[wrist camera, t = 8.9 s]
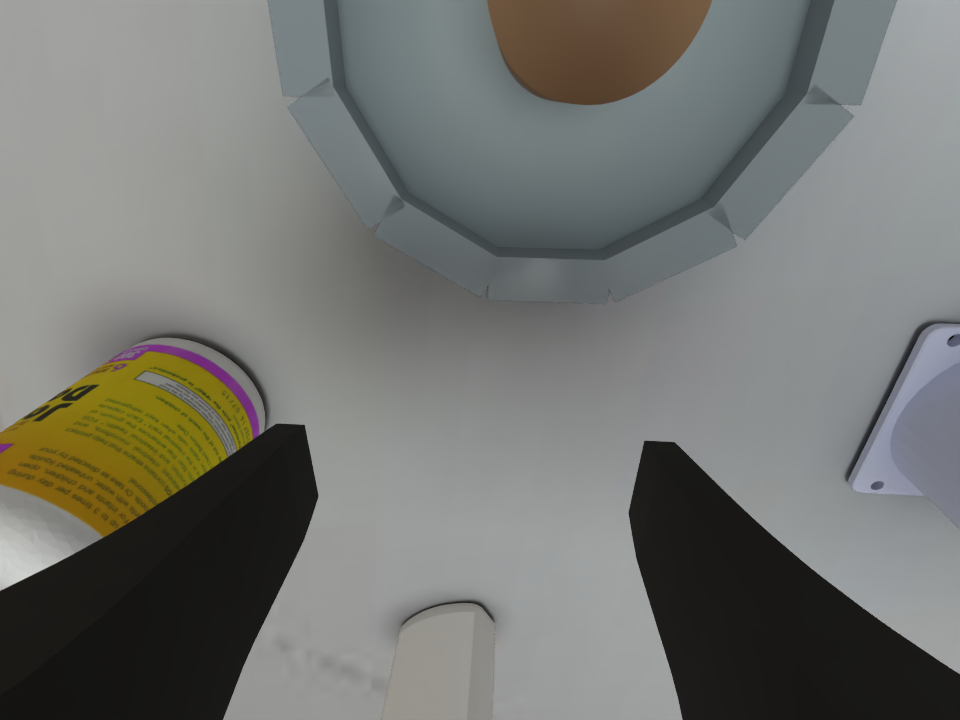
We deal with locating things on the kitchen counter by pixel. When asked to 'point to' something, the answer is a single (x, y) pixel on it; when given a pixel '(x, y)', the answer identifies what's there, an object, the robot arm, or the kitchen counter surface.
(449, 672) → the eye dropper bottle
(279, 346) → the kitchen counter surface
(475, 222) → the slate dish
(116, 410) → the supplement bottle
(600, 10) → the walnut cylinder
